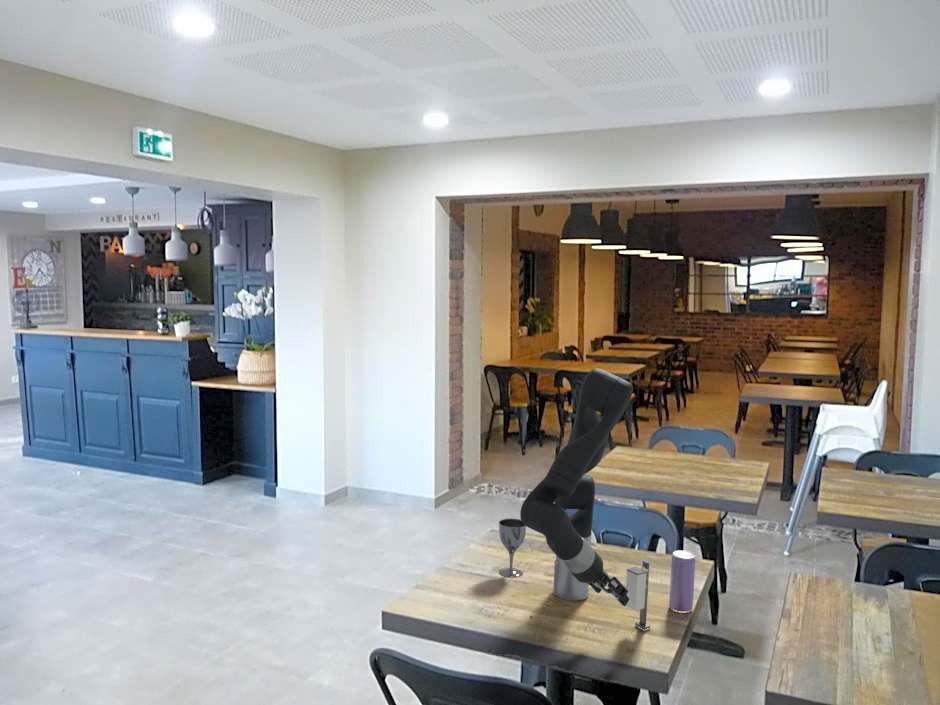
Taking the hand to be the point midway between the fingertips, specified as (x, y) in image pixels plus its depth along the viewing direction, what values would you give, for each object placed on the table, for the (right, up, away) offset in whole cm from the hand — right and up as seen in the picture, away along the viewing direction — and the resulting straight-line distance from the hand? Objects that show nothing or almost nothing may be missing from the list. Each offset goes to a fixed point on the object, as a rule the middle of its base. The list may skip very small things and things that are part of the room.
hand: (613, 595), depth 180 cm
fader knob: (+6, -4, +5) cm, 9 cm away
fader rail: (+9, -10, +7) cm, 15 cm away
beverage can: (+21, -10, +19) cm, 30 cm away
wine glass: (-22, -6, +40) cm, 46 cm away
